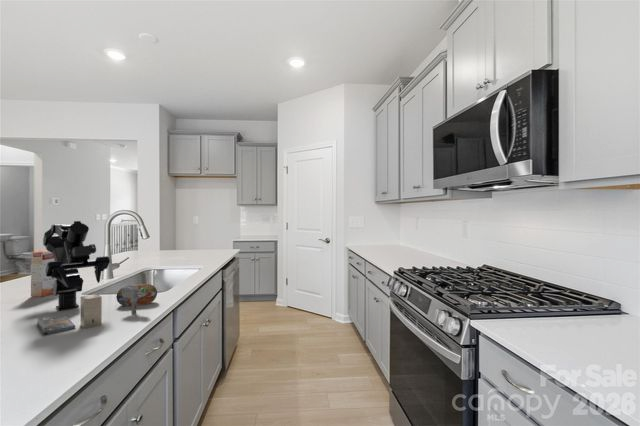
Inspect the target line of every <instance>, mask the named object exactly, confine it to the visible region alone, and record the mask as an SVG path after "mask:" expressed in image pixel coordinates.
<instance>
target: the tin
mask: <svg viewBox="0 0 640 426" xmlns="http://www.w3.org/2000/svg"><path fill="white" fill-rule="evenodd" d="M126 286H127V285H125V286H124V287H126ZM130 286H134V287H138V289H141V288H145V289H146V290H147V291H146V295H145V296H144V297H141V298H137V300H138V301H136V306H141V305H142V306H143V305H150V304H151V303H153V302H154V301H155V300H156V298H157V295H158V289H157V288H156V287H155V286H154V285H152V283H151V284H150V283H145V284H143V283H142V284H133V285H132V284H131V285H130ZM138 295H140V294H138ZM116 301H117V303H118V304H119V305H120V306H123V307H129V306H131V307H132V303H131V302H130V298H126V297H123V296H122V291H121V288H120V289H119V290H118V291H117V294H116Z"/></svg>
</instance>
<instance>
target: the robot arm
mask: <svg viewBox="0 0 640 426" xmlns="http://www.w3.org/2000/svg"><path fill="white" fill-rule="evenodd" d="M89 229H90V228H89V226H88V225H87V224H85V223H82V222H81V220H73V223H72V224H65V223H55V224H51V226H50V229H48V230H47V231H45V232H44V235H43V238H42V244H43V245H42V246H43V247H45V250H47V251H49V252H51V253H53V256H54V260H55V261H53V262H49V263H48V264H47V267H46V270H45V273H46V276H47V277H49V276H51V277H52V278H56V280H55V282H54V286H53V294H52V295H54V296H57V297H58V302H57V303H58V305H56V306H55V307H56V309H57V310H58V311H65V310H70V309H74V308H79V307H80V305H79V304H78V303H77V292H82V291H83V284H84V279H83V277H82V276H81V275H80V273H79V270H78V269H83V268H84V269H85V268H92V267H93V268H94V276H95V279H96V282H97V284H99V283H100V282H101V276H102V272H104V271H105V270H107V269H108V267H109V265H110V263H111V259H110V257H109V256H107V255H106V256H97V257H96V258H95V260H93V261H90V255H92V254H95V253H96V252H97V246H96V244H94V243H93V244H89V245H84V242H85V241H86V239H87V236H88V233H89Z"/></svg>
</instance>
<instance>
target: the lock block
mask: <svg viewBox="0 0 640 426" xmlns="http://www.w3.org/2000/svg"><path fill="white" fill-rule="evenodd" d="M102 298H103V297H102V295H100V294H99V293H96V294H95V293H94V294H91V295H90V294H89V295H83V296H80V326H81V327H82V329H88V328H93V327H97V326H101V325H102V324H103V323H102V315H103V313H102V311H103V310H102V309H103V308H102V305H103V302H102Z"/></svg>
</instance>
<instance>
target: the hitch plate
mask: <svg viewBox="0 0 640 426" xmlns="http://www.w3.org/2000/svg"><path fill="white" fill-rule="evenodd" d="M36 320H37V321H36V322H37V323H36V324H37V327H38V329H39V330H40V331H41V333H42V334H43V336H49V335H51V334H57V333H61V332H65V331H70V330H74V329H76V324H75V323H74V322H72V321H71V319H70V318H69V317H68V316H67V315H65V316H59V317H53V318H49V319H43V318H42V316H40V317H37V319H36Z"/></svg>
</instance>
